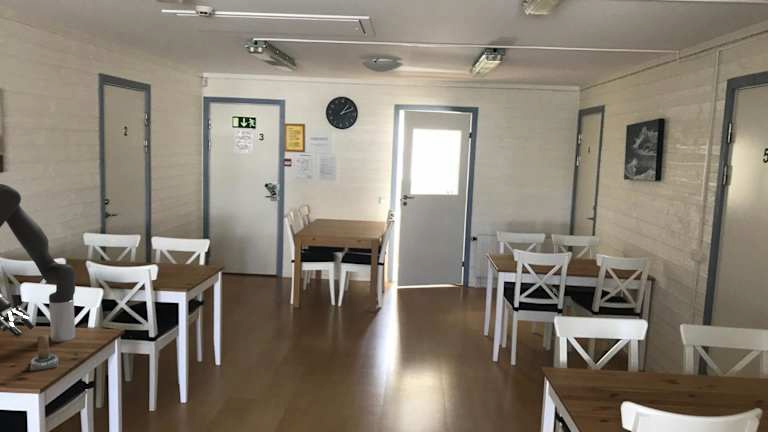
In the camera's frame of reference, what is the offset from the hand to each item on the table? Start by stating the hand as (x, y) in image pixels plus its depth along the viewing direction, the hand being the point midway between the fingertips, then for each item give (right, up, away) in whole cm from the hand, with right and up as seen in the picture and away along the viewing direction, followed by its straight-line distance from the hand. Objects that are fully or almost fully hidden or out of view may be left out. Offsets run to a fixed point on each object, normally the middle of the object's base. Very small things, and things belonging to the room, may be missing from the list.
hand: (26, 331), depth 218 cm
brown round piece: (+6, -12, +2) cm, 13 cm away
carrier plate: (+6, -13, +2) cm, 15 cm away
